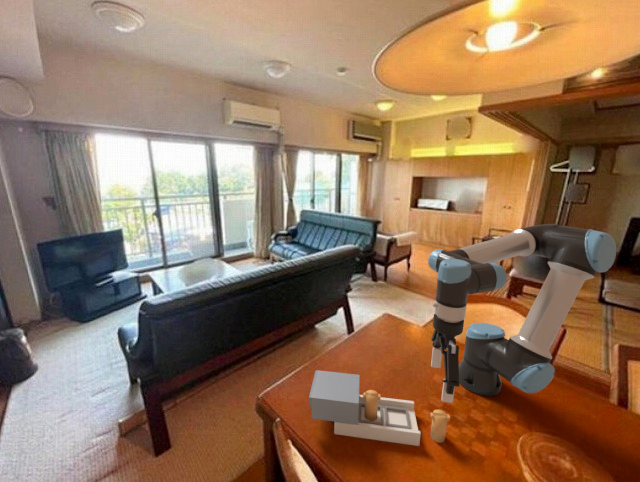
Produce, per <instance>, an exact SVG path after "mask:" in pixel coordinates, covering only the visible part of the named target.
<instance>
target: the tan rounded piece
mask: <svg viewBox="0 0 640 482" xmlns="http://www.w3.org/2000/svg"><path fill="white" fill-rule="evenodd" d="M362 393H363V394H362V395H363V398H365V413H364V416H365V418H366V419H367V420H369V421H375V420H376V419H377V411H378V400H380V397H381V393H378V392H377V391H376V390H374V389H368V390H366V391H365V392H362Z"/></svg>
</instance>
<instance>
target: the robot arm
mask: <svg viewBox="0 0 640 482" xmlns="http://www.w3.org/2000/svg"><path fill="white" fill-rule="evenodd" d="M616 255H617V245H616V240H615V239H614V238H613V236H612V235H611V234H610V233H608V232H604V231H600V230H599V231H598V230H595V229H592V228H591V229H589V228H581V227H575V226H568V225H562V224H556V223H545V224H538V225H537V224H536V225H535V224H534V225H531V226H526V227H525V226H524V227H521V228H518V229H515V230H512V231H511V232H510V233H509V234H508V235H504V236H503V235H502V236H500V237H497V238H493V239H489V240H485V241H482V242H478V243H473V244H471V245H467V246H463V247H460V248H457V249H453V250H446V249H442V248H437V249H434V250H433V251H432V252H430V254H429V256H428V260H427V264H428V266H429V268H430V269H431V270H432V271H434V272H436V273H437V276H436V278H437V281H436V282H437V283H436V289H435V291H436V294H435V303H434V302H433V304H432V307H433V308H434V311H433V312H434V314H433V320H432V327H433V329H434V330H433V333H432V336H431V338H430V339H431V342H432V353H431V362H430V367H431V368H435V369H442V368H441V367H442V359H443V369H444V378H443V379H442V380H441V381H442V383H443V384H442V391H441V397H440V398H441V399H440V400H441V402H443V403H449V404H451V403H452V404H453V403H454V397H455V390H456V387H458V388H460V385H461V386H462V387H463V388H465V389H467V391H469V392H471V393H473V394H476V395H479V396H485V397H492V396H498V394H500V392H501V390H502V379H501V377H502V378H503V379H504V380H506V381H508V382H509V383H510V384H511V386H513V387H516V388H518V389H519V390H521V391H522V392H524V393H526V394H535V393H539V392H540V391H542V390H543V389H545V388H546V387H547V386H549V384H550V383H551V382H552V380H553V379H554V378H555V372H556V370H555V367H554V366H553V365H552V363H551V360H552V359H553V356H552V354H551V352H550V349H551V347H552V345H553V344H554V341H555V339H556V337H557V336H558V334H559V331H560V329H561V328H562V325H563V324H564V322H565V320H566V318H567V315H568V314H569V312H570V310H571V308H572V307H573V304H574V303H575V301H576V299H577V297H578V295H579V293H580V291H581V289H582V287H583V285H584V284H585V282H586V281H587V280H591V279H595V277H596V275H597V274H598V273H606V272H608V271H609V269H611V268H612V266H613V265H614V263H615V260H616ZM517 256H520V257H528V256H538V257H542V258H547V259H548V261H547V265H548V266H549V268H550V269H549V271H548V274H547V276H546V278H545V280H544V282H543V283H542V286H541V288H540V290H539V292H538V294H537V296H536V298H535V299H534V302H533V303H532V306H531V307H530V310H529V312H528V313H527V315H526V318H525V319H524V321H523V324H522V325H521V328H520V329H519V331H518V333H517V334H515V335H511V336H510V337H509V339H508V338H506V333H505V330H504V329H503V328H501V327H500V326H498V325H495V324H492V323H487V322H486V323H485V322H475V323H472V324H470V325H468V327H467V330H466V334H465V343H464V350H463V357H462V360H461V361H459V353H460V347H459V345H457V340H456V338H455V337H457V336H460V335H462V334H463V332H464V325H465V318H466V311H467V303H468V296H469V295H475V294H481V293H488V292H494V291H495V290H500V289H502V288H504V287H505V285H507V279H508V275H507V272H506V270H505V268H504V267H503V266H502V265H500V264H499V262H501V261H505V260H508V259H511V258H515V257H517ZM442 357H443V358H442Z"/></svg>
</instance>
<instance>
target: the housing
mask: <svg viewBox="0 0 640 482" xmlns="http://www.w3.org/2000/svg"><path fill="white" fill-rule="evenodd" d="M414 408H415V401H414V400H408V399H407V400H406V399H399V398H398V399H397V398H390V397H382V396H380V400H378V411H377V419H376V420H375V421H369V420H367V419H366V418H365V416H364V413H365V398H363V394H359V409H358V425H357V424H349V423H342V422H334V421H333V422H334V424H333V425H334V426H333V427H334V428H333V429H334V430H333V433H334V435H338V436H339V435H340V436H345V437H346V436H347V437H353V438H359V439H366V440H373V441H381V442H388V443H396V444H402V445H407V446H416V447H420V444H421V443H420V441H421V436H422V434H421V430H419V427H418V423H417V418H416V413H415V409H414Z"/></svg>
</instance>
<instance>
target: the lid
mask: <svg viewBox="0 0 640 482" xmlns="http://www.w3.org/2000/svg"><path fill="white" fill-rule="evenodd" d="M359 395H360V374H353V373H346V372H345V373H344V372H337V371H327V370H317V369H316V370H315V371H314V375H313V380H312V384H311V388H310V392H309V396H308V408H311V419H314V420H321V421H327V422H328V421H329V422H342V423H349V424H357V425H358V409H359Z"/></svg>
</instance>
